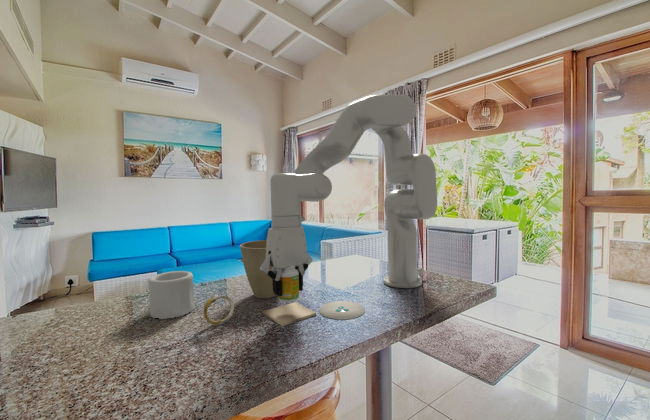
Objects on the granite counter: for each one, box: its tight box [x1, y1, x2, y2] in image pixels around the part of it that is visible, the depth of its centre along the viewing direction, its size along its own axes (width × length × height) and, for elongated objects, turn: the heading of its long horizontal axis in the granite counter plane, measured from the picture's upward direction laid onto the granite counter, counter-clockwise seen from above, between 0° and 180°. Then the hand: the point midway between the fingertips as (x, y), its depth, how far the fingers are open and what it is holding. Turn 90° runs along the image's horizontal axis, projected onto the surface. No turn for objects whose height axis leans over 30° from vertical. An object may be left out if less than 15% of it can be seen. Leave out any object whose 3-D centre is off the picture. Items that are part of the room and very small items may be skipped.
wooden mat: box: [262, 301, 317, 327], centre depth 79 cm, size 10×10×1 cm
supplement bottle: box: [277, 266, 300, 303], centre depth 78 cm, size 5×5×10 cm
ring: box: [202, 290, 235, 326], centre depth 73 cm, size 7×3×8 cm, turn 115°
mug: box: [147, 270, 195, 320], centre depth 83 cm, size 14×11×10 cm
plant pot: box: [239, 239, 277, 299], centre depth 94 cm, size 15×15×16 cm
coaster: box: [318, 300, 366, 321], centre depth 81 cm, size 12×12×1 cm
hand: (288, 291), depth 79 cm, fingers closed on supplement bottle, 5 cm apart
